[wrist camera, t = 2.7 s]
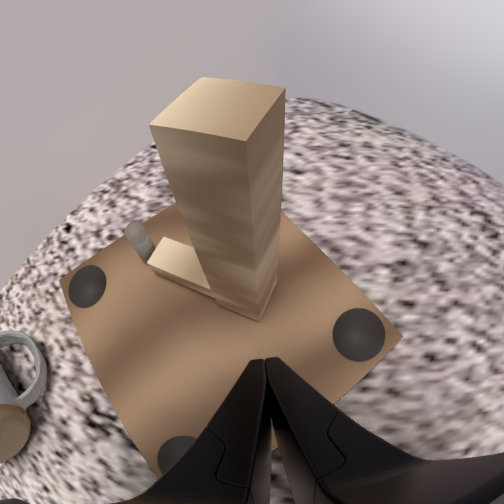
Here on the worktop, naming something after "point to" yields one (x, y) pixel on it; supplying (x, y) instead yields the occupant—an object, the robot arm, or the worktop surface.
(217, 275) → the hinged leg
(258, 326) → the stool seat
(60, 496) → the worktop surface
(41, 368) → the ceramic mug
